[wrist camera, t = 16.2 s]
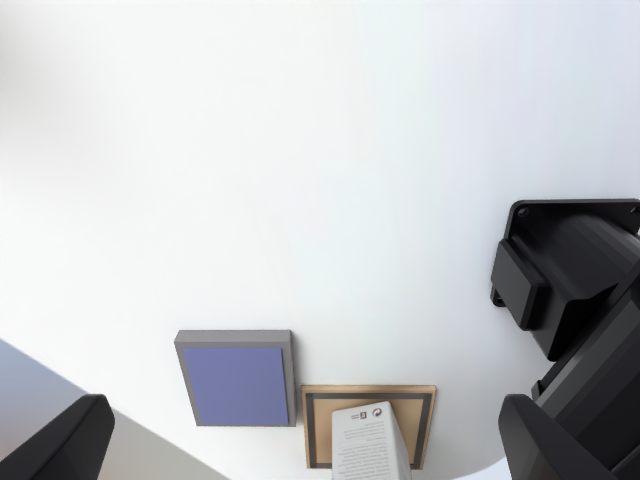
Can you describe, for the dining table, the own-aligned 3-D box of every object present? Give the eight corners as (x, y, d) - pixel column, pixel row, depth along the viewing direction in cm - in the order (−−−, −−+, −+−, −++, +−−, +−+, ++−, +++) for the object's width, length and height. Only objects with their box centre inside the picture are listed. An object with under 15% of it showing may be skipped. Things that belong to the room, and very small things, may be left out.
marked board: (434, 385, 27) (436, 391, 27) (421, 464, 32) (422, 470, 31) (301, 385, 28) (301, 391, 27) (307, 463, 32) (306, 470, 32)
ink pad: (290, 330, 25) (288, 343, 24) (296, 414, 29) (295, 429, 28) (179, 330, 25) (172, 343, 24) (200, 413, 29) (196, 428, 28)
